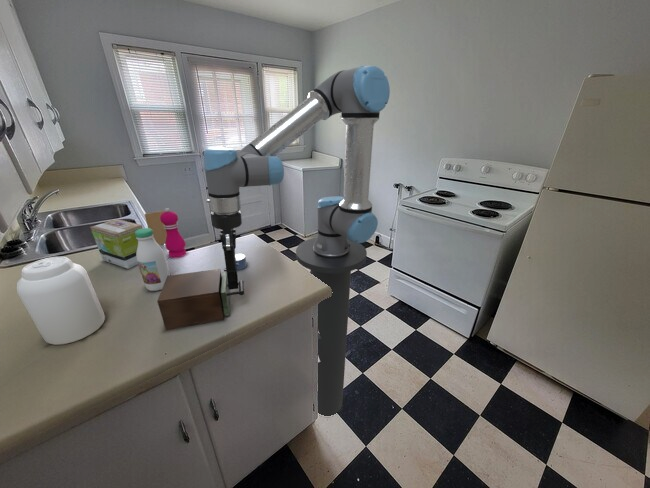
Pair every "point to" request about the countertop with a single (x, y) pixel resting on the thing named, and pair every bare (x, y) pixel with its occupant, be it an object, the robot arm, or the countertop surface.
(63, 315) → the white plastic jar
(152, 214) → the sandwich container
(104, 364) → the countertop surface
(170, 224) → the pepper mill
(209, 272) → the cabinet
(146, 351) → the countertop surface
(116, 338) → the countertop surface
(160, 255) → the milk bottle
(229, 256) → the robot arm
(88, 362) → the countertop surface
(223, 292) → the drawer
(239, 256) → the blue short cylinder
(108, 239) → the tea box
